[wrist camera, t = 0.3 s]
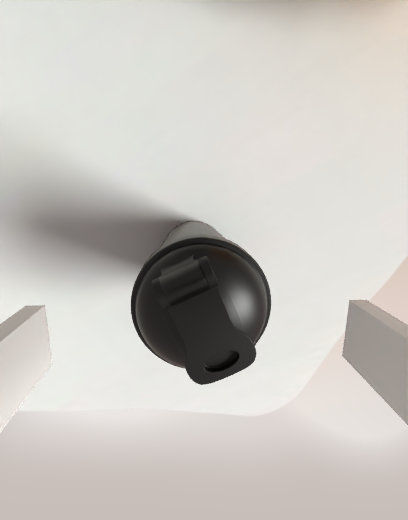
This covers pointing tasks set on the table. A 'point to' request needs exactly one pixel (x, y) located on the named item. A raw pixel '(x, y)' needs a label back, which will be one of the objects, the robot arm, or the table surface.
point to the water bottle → (201, 303)
